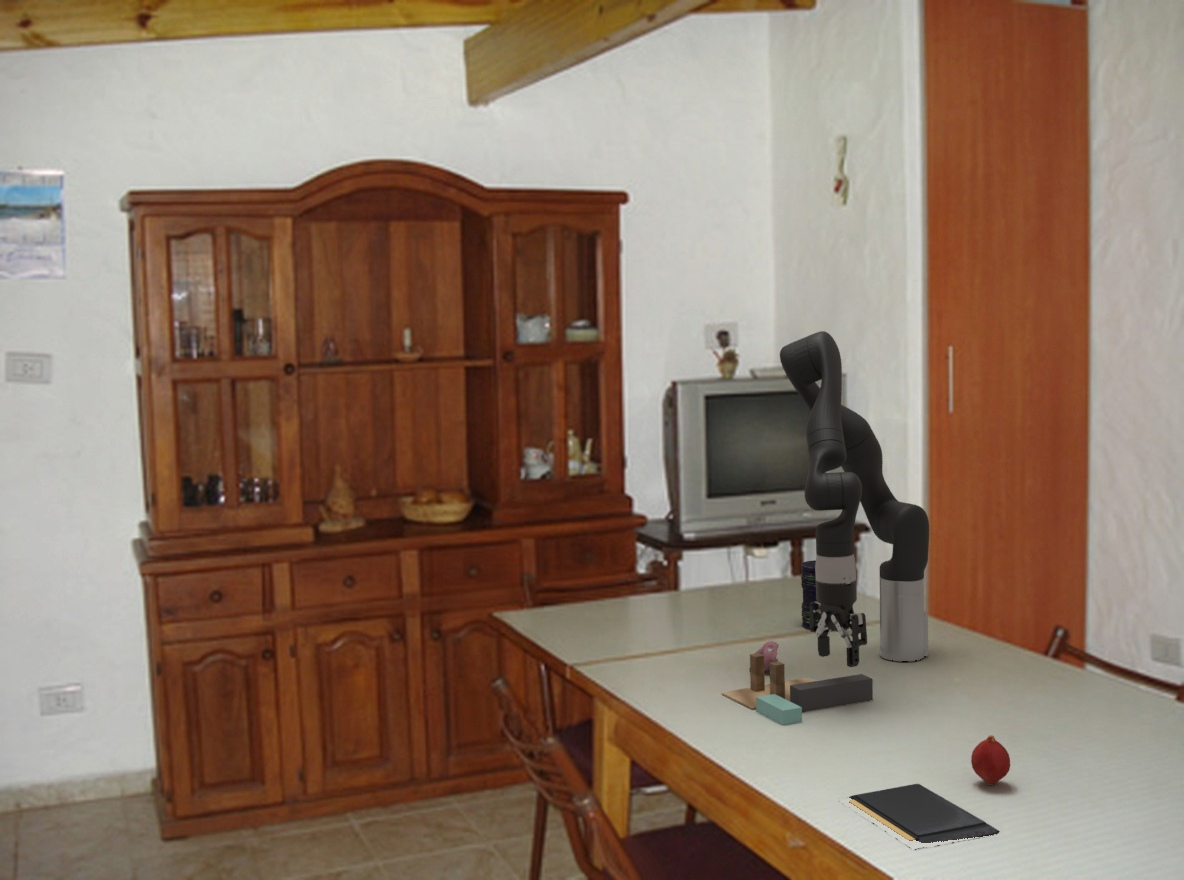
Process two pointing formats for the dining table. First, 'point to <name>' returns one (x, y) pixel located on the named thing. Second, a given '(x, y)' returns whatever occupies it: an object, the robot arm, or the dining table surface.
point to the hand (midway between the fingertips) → (838, 661)
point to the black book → (921, 814)
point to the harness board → (752, 695)
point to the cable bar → (832, 692)
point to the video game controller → (768, 654)
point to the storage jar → (808, 591)
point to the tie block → (779, 709)
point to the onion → (990, 760)
